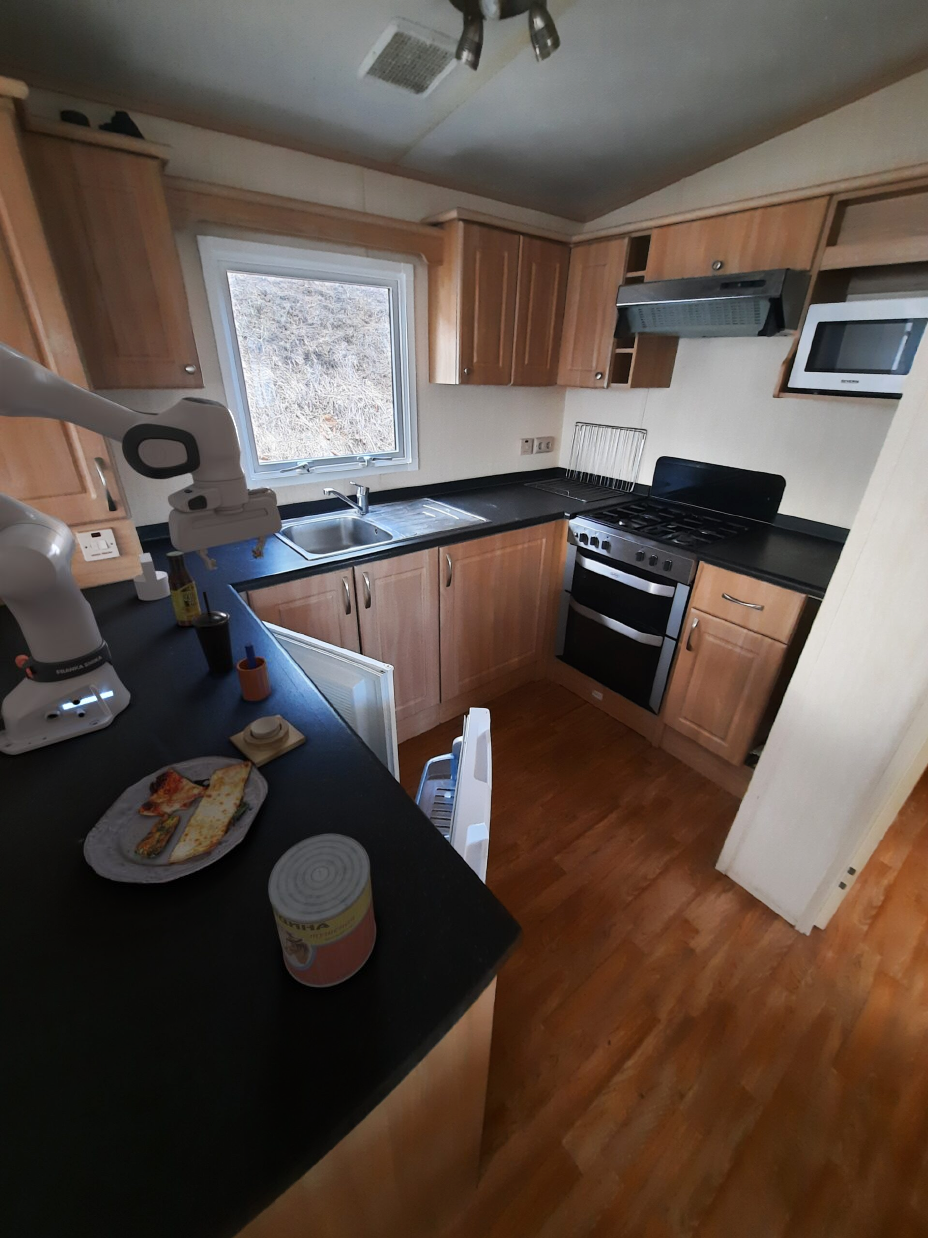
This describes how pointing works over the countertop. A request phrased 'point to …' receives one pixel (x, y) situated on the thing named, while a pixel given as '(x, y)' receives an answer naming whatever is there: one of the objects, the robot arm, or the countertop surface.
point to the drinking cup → (214, 639)
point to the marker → (250, 656)
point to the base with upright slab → (151, 580)
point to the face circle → (265, 728)
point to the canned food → (324, 909)
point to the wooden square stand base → (267, 743)
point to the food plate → (176, 820)
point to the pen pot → (254, 679)
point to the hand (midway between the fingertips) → (235, 563)
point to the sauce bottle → (182, 590)
